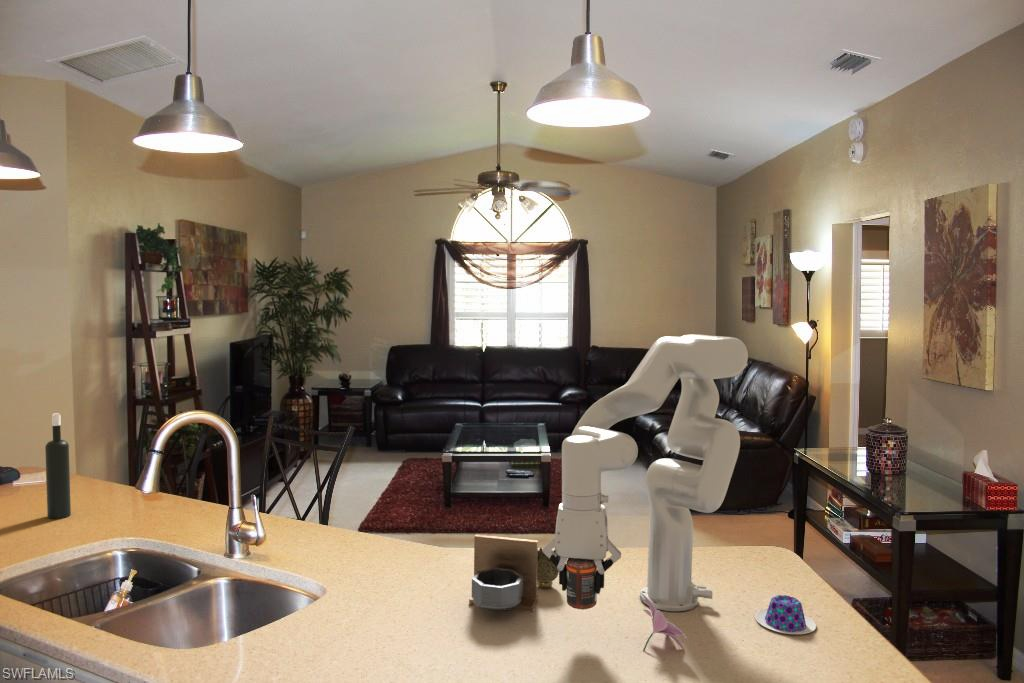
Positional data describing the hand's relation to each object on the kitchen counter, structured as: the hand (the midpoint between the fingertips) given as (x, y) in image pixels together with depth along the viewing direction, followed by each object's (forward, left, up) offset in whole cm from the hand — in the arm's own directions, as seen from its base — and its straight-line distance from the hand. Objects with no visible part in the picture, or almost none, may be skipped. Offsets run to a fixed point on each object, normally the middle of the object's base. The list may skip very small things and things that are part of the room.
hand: (581, 588), depth 148 cm
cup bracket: (+19, -8, -10) cm, 23 cm away
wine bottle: (+157, -35, -10) cm, 161 cm away
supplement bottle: (0, 0, -3) cm, 3 cm away
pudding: (-40, -18, -11) cm, 46 cm away
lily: (-16, -1, -10) cm, 19 cm away
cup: (+12, -23, -10) cm, 28 cm away
